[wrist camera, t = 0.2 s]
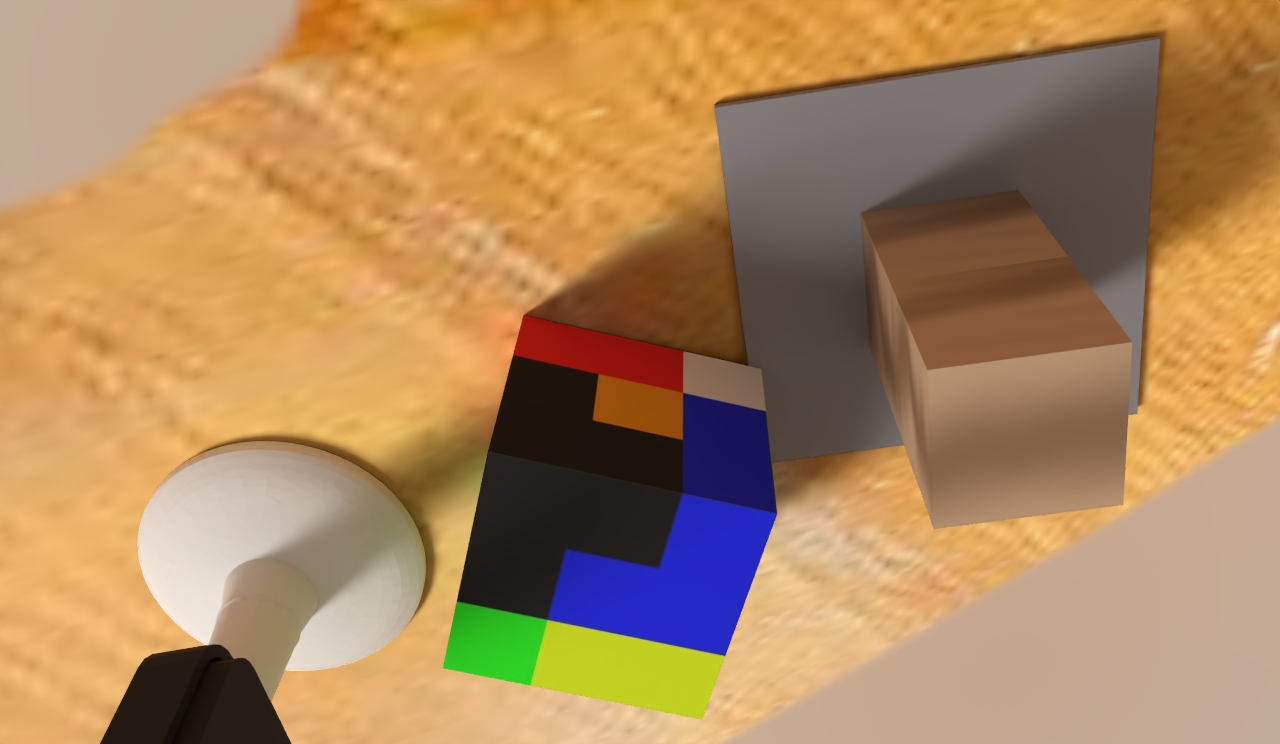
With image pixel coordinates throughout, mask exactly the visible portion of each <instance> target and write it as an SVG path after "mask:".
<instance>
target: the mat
mask: <svg viewBox="0 0 1280 744" xmlns="http://www.w3.org/2000/svg"><path fill="white" fill-rule="evenodd" d="M1159 52H1160V39H1159V38H1158V37H1157V36H1154V37H1147V38H1141V39H1134V40H1128V41H1121V42H1115V43H1108V44H1102V45H1095V46H1089V47H1083V48H1076V49H1070V50H1063V51H1057V52H1050V53H1044V54H1037V55H1031V56H1024V57H1018V58H1011V59H1005V60H998V61H992V62H986V63H979V64H973V65H966V66H960V67H953V68H947V69H940V70H934V71H927V72H921V73H914V74H908V75H901V76H895V77H888V78H882V79H876V80H869V81H863V82H856V83H850V84H843V85H837V86H830V87H824V88H817V89H811V90H804V91H798V92H791V93H785V94H779V95H772V96H766V97H759V98H753V99H746V100H740V101H733V102H727V103H720V104H714V105H715V113H716V121H717V128H718V136H719V144H720V152H721V159H722V167H723V175H724V183H725V191H726V198H727V206H728V214H729V222H730V229H731V237H732V245H733V253H734V261H735V268H736V276H737V284H738V292H739V299H740V307H741V315H742V323H743V331H744V338H745V346H746V354H747V362H748V366H751V367H756V368H760V369H761V370H762V379H763V388H764V397H765V406H766V416H767V425H768V434H769V443H770V453H771V462H778V461H786V460H794V459H801V458H809V457H816V456H824V455H831V454H839V453H846V452H854V451H861V450H869V449H876V448H884V447H892V446H899V445H904V443H903V440H902V438H901V435H900V432H899V429H898V426H897V423H896V421H895V418H894V415H893V412H892V409H891V407H890V404H889V401H888V398H887V395H886V392H885V390H884V387H883V384H882V381H881V378H880V376H879V373H878V370H877V367H876V364H875V361H874V359H873V356H872V353H871V350H870V345H869V330H868V316H867V301H866V287H865V272H864V258H863V243H862V229H861V214H860V213H865V212H872V211H879V210H886V209H892V208H899V207H906V206H913V205H920V204H927V203H933V202H940V201H947V200H954V199H961V198H967V197H974V196H981V195H988V194H995V193H1001V192H1008V191H1015V190H1019V192H1020V193H1021V194H1022V196H1023V197H1024V198H1025V200H1026V201H1027V202H1028V204H1029V205H1030V206H1031V208H1032V209H1033V210H1034V212H1035V213H1036V214H1037V216H1038V217H1039V218H1040V220H1041V221H1042V222H1043V224H1044V225H1045V226H1046V228H1047V229H1048V230H1049V232H1050V233H1051V234H1052V236H1053V237H1054V238H1055V240H1056V241H1057V242H1058V244H1059V245H1060V246H1061V248H1062V249H1063V250H1064V252H1065V253H1066V254H1067V256H1068V257H1069V258H1070V260H1071V261H1072V262H1073V264H1074V265H1075V266H1076V268H1077V269H1078V270H1079V272H1080V273H1081V274H1082V276H1083V277H1084V278H1085V280H1086V281H1087V282H1088V284H1089V285H1090V286H1091V288H1092V289H1093V290H1094V292H1095V293H1096V294H1097V296H1098V297H1099V298H1100V300H1101V301H1102V302H1103V304H1104V305H1105V306H1106V308H1107V309H1108V310H1109V312H1110V313H1111V314H1112V316H1113V317H1114V318H1115V320H1116V321H1117V322H1118V324H1119V325H1120V326H1121V328H1122V329H1123V330H1124V332H1125V333H1126V334H1127V336H1128V337H1129V338H1130V340H1131V341H1132V357H1131V374H1130V392H1129V409H1128V415H1133V414H1137V409H1138V393H1139V377H1140V360H1141V344H1142V328H1143V312H1144V295H1145V279H1146V263H1147V247H1148V230H1149V214H1150V198H1151V182H1152V166H1153V149H1154V133H1155V117H1156V101H1157V84H1158V68H1159Z"/></svg>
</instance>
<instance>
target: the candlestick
mask: <svg viewBox="0 0 1280 744" xmlns="http://www.w3.org/2000/svg"><path fill="white" fill-rule="evenodd" d="M138 555H139V562H140V566H141V570H142V573H143V575H144V578H145V581H146V583H147V585H148V587H149V589H150V591H151V593H152V594H153V596H154V598H155V599H156V601H157V602H158V603H159V605H160V606H161V607H162V609H163V610H164V611H165V612H166V613H167V614H168V615H169V617H170V618H171V619H172V620H173V621H174V622H175V623H176V624H178V625H179V626H180V627H181V628H182V629H183V630H184V631H186V632H187V633H188V634H189V635H191V636H192V637H194V638H195V639H196V640H198V641H199V642H201V643H203V644H204V645H211V644H218V645H222V646H223V647H224V648H226V649H227V650H228V651H229V652H230V654H231V655H232V657H233V658H234V659H235V658H245V659H247V660H248V661H250V662H251V664H252V666H253V667H254V669H255V670H256V672H257V674H258V677H259V679H260V681H261V683H262V685H263V687H264V689H265V691H266V693H267V695H268V697H269V699H270V701H272V699H273V696H274V694H275V692H276V689H277V687H278V685H279V682H280V680H281V678H282V675H283V673H284V671H285V670H288V671H309V670H321V669H328V668H334V667H339V666H343V665H346V664H350V663H353V662H356V661H358V660H361V659H363V658H365V657H368V656H370V655H372V654H373V653H375V652H377V651H379V650H380V649H382V648H383V647H385V646H386V645H387V644H389V643H390V642H391V641H392V640H394V639H395V638H396V637H397V636H398V635H399V634H400V633H401V632H402V631H403V629H404V628H405V627H406V626H407V624H408V623H409V622H410V620H411V618H412V617H413V615H414V613H415V611H416V610H417V607H418V605H419V603H420V599H421V596H422V592H423V588H424V584H425V577H426V556H425V550H424V546H423V542H422V539H421V536H420V533H419V531H418V528H417V526H416V524H415V522H414V521H413V519H412V517H411V515H410V514H409V512H408V511H407V509H406V508H405V507H404V505H403V504H402V503H401V501H400V500H399V499H398V498H397V497H396V496H395V495H394V494H393V493H392V492H391V491H390V490H389V489H388V488H387V487H386V486H385V485H384V484H383V483H382V482H380V481H379V480H378V479H377V478H375V477H374V476H373V475H371V474H370V473H368V472H367V471H365V470H364V469H362V468H360V467H359V466H357V465H355V464H353V463H352V462H350V461H348V460H345V459H343V458H341V457H339V456H337V455H334V454H332V453H329V452H326V451H323V450H320V449H317V448H313V447H309V446H305V445H300V444H295V443H288V442H279V441H250V442H240V443H234V444H230V445H225V446H221V447H218V448H215V449H212V450H209V451H206V452H204V453H201V454H199V455H197V456H195V457H193V458H191V459H189V460H188V461H186V462H185V463H183V464H182V465H180V466H179V467H177V468H176V469H175V470H174V471H173V472H171V473H170V474H169V475H168V476H167V477H166V478H165V479H164V480H163V482H162V483H161V484H160V485H159V487H158V488H157V489H156V491H155V492H154V494H153V496H152V497H151V499H150V501H149V503H148V504H147V506H146V509H145V511H144V513H143V516H142V519H141V523H140V527H139V533H138Z"/></svg>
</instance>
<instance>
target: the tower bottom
mask: <svg viewBox="0 0 1280 744" xmlns="http://www.w3.org/2000/svg"><path fill="white" fill-rule="evenodd" d="M860 214H861V229H862V243H863V258H864V272H865V287H866V301H867V316H868V330H869V345H870V350H871V353H872V356H873V359H874V361H875V364H876V367H877V370H878V373H879V376H880V378H881V381H882V384H883V387H884V390H885V392H886V395H887V398H888V401H889V404H890V407H891V409H892V412H893V415H894V418H895V421H896V423H897V426H898V418H897V401H896V383H895V366H894V349H893V331H892V314H891V296H890V282H892V281H899V280H906V279H913V278H920V277H927V276H934V275H941V274H948V273H955V272H962V271H969V270H976V269H983V268H990V267H997V266H1004V265H1011V264H1018V263H1025V262H1032V261H1039V260H1046V259H1053V258H1060V257H1067V254H1066V253H1065V252H1064V250H1063V249H1062V248H1061V246H1060V245H1059V244H1058V242H1057V241H1056V240H1055V238H1054V237H1053V236H1052V234H1051V233H1050V232H1049V230H1048V229H1047V228H1046V226H1045V225H1044V224H1043V222H1042V221H1041V220H1040V218H1039V217H1038V216H1037V214H1036V213H1035V212H1034V210H1033V209H1032V208H1031V206H1030V205H1029V204H1028V202H1027V201H1026V200H1025V198H1024V197H1023V196H1022V194H1021V193H1020V192H1019V190H1015V191H1008V192H1001V193H995V194H988V195H981V196H974V197H967V198H961V199H954V200H947V201H940V202H933V203H927V204H920V205H913V206H906V207H899V208H892V209H886V210H879V211H872V212H865V213H860Z"/></svg>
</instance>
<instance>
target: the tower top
mask: <svg viewBox="0 0 1280 744" xmlns="http://www.w3.org/2000/svg"><path fill="white" fill-rule="evenodd" d="M890 296H891V314H892V331H893V349H894V366H895V383H896V401H897V418H898V429H899V432H900V435H901V438H902V440H903V443H904V446H905V449H906V452H907V454H908V457H909V460H910V463H911V466H912V469H913V471H914V474H915V477H916V480H917V483H918V485H919V488H920V491H921V494H922V497H923V499H924V502H925V505H926V508H927V511H928V514H929V516H930V519H931V522H932V525H933V528H934V529H938V528H945V527H953V526H961V525H969V524H977V523H985V522H993V521H1000V520H1008V519H1016V518H1024V517H1032V516H1040V515H1047V514H1055V513H1063V512H1071V511H1079V510H1087V509H1094V508H1102V507H1110V506H1118V505H1123V497H1124V479H1125V462H1126V444H1127V427H1128V409H1129V392H1130V374H1131V357H1132V341H1131V340H1130V338H1129V337H1128V336H1127V334H1126V333H1125V332H1124V330H1123V329H1122V328H1121V326H1120V325H1119V324H1118V322H1117V321H1116V320H1115V318H1114V317H1113V316H1112V314H1111V313H1110V312H1109V310H1108V309H1107V308H1106V306H1105V305H1104V304H1103V302H1102V301H1101V300H1100V298H1099V297H1098V296H1097V294H1096V293H1095V292H1094V290H1093V289H1092V288H1091V286H1090V285H1089V284H1088V282H1087V281H1086V280H1085V278H1084V277H1083V276H1082V274H1081V273H1080V272H1079V270H1078V269H1077V268H1076V266H1075V265H1074V264H1073V262H1072V261H1071V260H1070V258H1069V257H1068V256H1067V257H1060V258H1053V259H1046V260H1039V261H1032V262H1025V263H1018V264H1011V265H1004V266H997V267H990V268H983V269H976V270H969V271H962V272H955V273H948V274H941V275H934V276H927V277H920V278H913V279H906V280H899V281H892V282H890Z"/></svg>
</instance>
